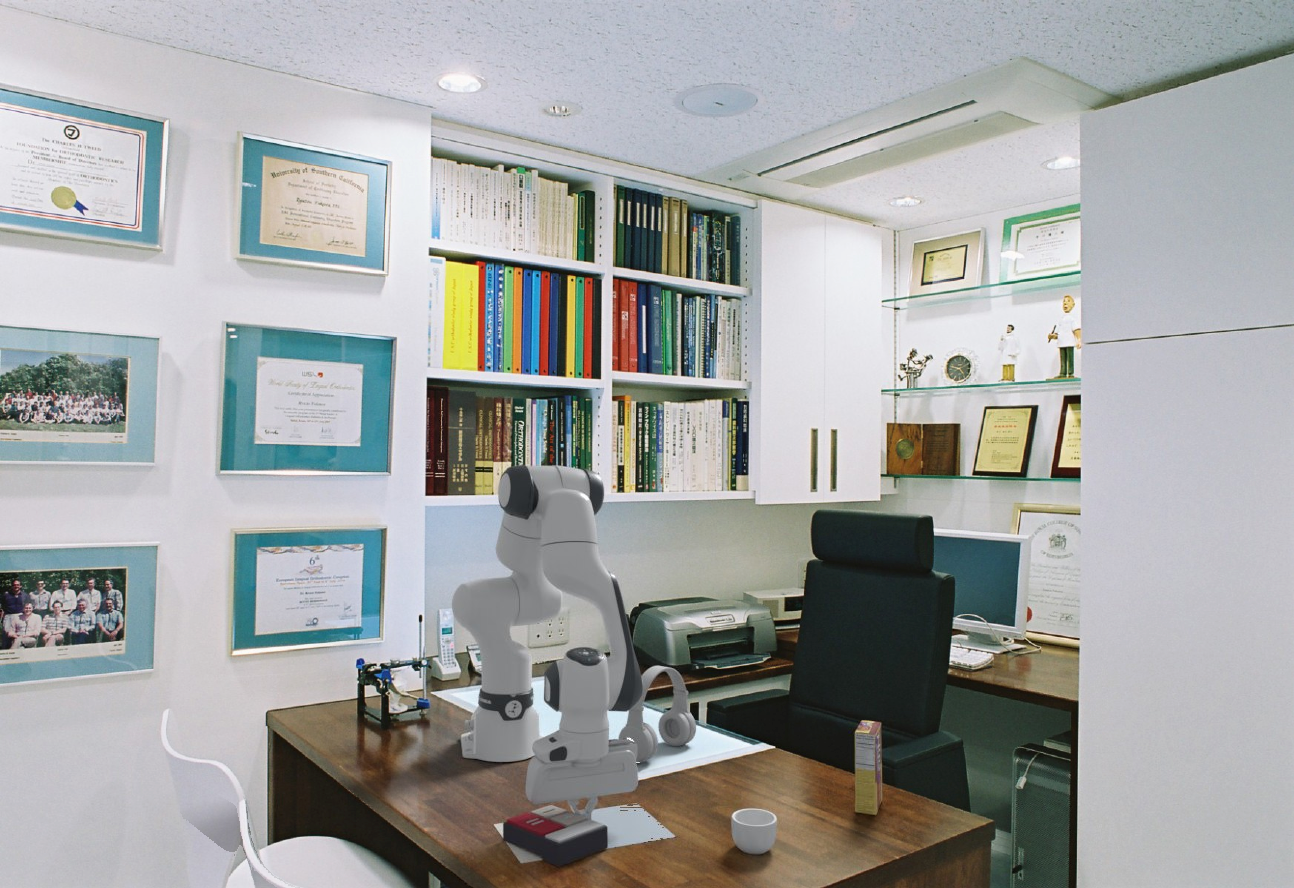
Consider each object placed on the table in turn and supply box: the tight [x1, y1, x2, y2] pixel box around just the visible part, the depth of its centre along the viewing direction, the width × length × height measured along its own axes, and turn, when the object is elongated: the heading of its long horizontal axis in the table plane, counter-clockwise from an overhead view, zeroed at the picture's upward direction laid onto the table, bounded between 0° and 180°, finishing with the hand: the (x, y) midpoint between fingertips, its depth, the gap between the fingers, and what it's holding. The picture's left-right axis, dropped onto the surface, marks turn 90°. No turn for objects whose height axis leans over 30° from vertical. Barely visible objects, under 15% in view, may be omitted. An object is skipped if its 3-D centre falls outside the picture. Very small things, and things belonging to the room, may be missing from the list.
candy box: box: [854, 720, 883, 816], centre depth 176 cm, size 9×4×15 cm, turn 158°
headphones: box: [618, 665, 697, 763], centre depth 206 cm, size 20×8×19 cm, turn 144°
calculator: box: [502, 804, 608, 867], centre depth 155 cm, size 11×4×15 cm
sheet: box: [493, 802, 676, 864], centre depth 161 cm, size 17×28×1 cm, turn 115°
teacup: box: [730, 808, 778, 855], centre depth 156 cm, size 10×8×5 cm
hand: (582, 821), depth 161 cm, fingers closed
